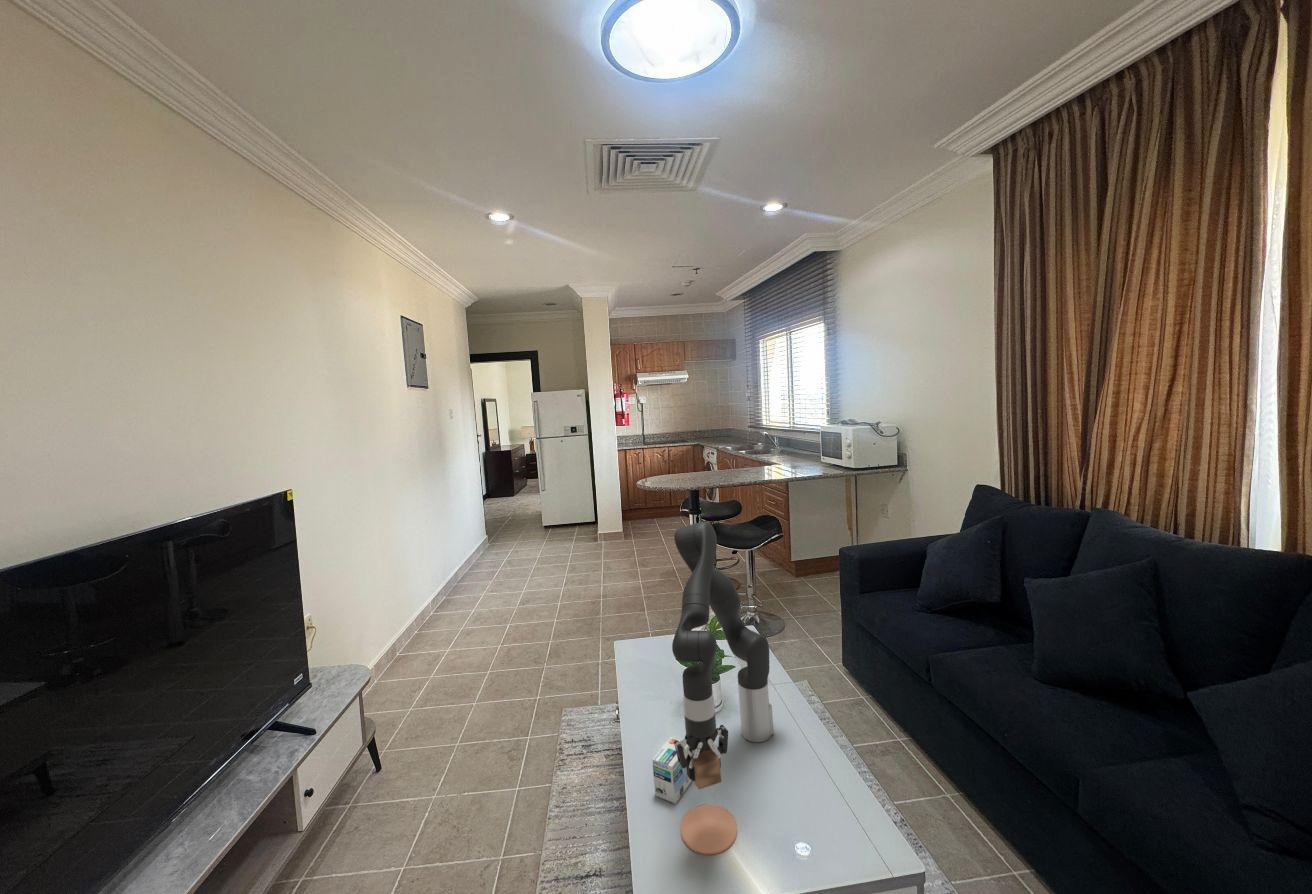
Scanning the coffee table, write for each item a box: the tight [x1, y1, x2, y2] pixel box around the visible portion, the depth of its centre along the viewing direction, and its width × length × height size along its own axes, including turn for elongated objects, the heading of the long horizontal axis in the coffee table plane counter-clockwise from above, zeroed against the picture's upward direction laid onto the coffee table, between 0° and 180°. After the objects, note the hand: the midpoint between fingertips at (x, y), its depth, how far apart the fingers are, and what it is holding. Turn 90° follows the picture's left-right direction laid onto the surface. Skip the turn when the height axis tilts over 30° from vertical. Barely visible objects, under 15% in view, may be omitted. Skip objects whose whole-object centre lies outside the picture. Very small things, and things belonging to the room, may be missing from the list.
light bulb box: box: [651, 736, 693, 804], centre depth 144 cm, size 11×7×11 cm, turn 148°
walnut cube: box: [693, 749, 722, 791], centre depth 128 cm, size 6×6×6 cm
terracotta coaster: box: [679, 803, 738, 856], centre depth 129 cm, size 14×14×1 cm
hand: (704, 774), depth 128 cm, fingers closed on walnut cube, 6 cm apart
